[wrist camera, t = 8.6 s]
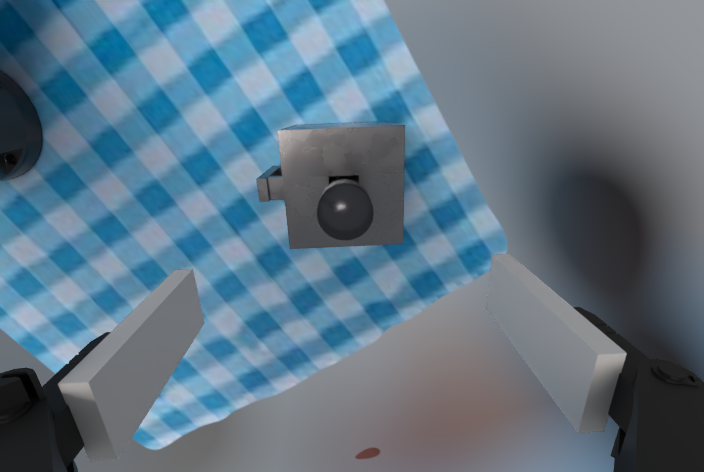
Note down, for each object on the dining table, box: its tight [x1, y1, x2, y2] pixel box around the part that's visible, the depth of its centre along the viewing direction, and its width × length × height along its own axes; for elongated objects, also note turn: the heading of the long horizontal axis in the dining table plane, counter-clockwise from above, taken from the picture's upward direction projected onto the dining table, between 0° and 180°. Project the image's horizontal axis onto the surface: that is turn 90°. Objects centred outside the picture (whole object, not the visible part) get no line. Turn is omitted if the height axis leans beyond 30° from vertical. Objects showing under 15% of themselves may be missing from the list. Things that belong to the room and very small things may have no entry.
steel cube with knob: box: [257, 121, 405, 249], centre depth 41 cm, size 15×12×14 cm
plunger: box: [317, 175, 374, 240], centre depth 36 cm, size 9×9×19 cm
